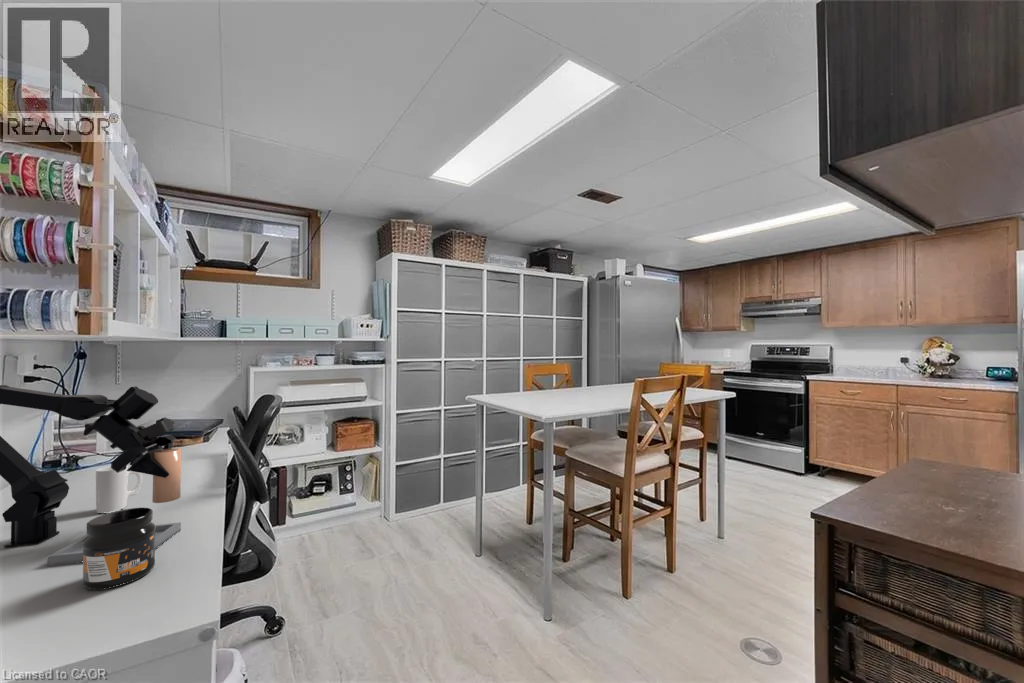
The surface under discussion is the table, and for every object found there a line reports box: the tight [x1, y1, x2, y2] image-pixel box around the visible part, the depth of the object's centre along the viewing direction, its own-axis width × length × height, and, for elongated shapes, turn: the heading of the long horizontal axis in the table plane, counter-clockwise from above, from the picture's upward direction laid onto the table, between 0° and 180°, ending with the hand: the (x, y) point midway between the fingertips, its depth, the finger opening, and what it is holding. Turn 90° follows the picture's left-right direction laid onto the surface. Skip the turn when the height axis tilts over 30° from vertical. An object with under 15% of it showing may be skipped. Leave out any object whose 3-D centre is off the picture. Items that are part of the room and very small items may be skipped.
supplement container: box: [81, 507, 156, 590], centre depth 82 cm, size 10×10×12 cm
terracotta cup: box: [151, 447, 182, 504], centre depth 107 cm, size 6×6×12 cm
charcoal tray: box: [47, 522, 182, 567], centre depth 95 cm, size 18×13×2 cm
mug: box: [95, 464, 143, 514], centre depth 120 cm, size 10×7×12 cm, turn 145°
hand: (173, 472), depth 107 cm, fingers closed on terracotta cup, 6 cm apart
